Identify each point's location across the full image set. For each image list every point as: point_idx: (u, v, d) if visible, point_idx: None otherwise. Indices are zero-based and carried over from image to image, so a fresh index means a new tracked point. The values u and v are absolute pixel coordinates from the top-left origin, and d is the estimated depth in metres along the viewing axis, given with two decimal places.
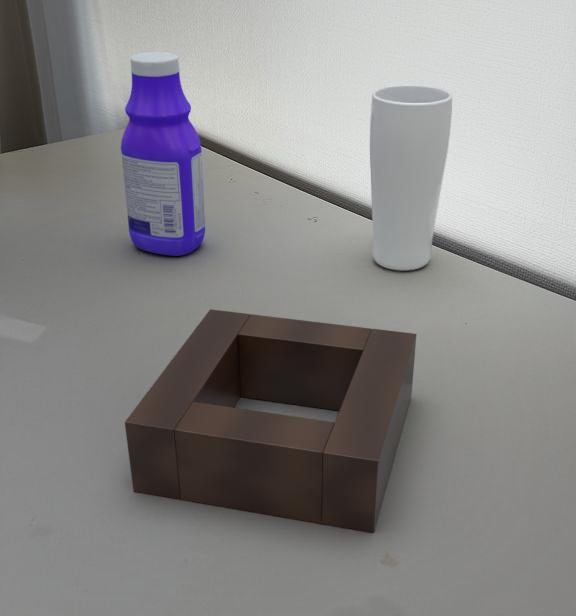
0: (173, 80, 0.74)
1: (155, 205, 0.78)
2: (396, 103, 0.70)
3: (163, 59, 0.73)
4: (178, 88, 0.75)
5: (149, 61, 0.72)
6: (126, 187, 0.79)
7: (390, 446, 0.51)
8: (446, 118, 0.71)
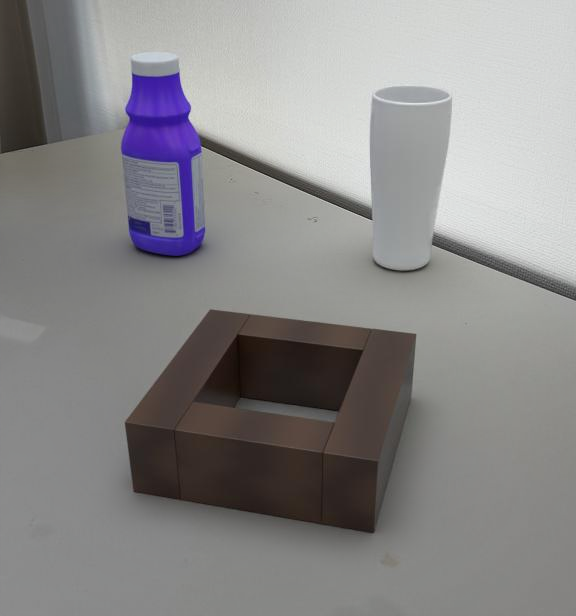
0: (173, 80, 0.74)
1: (155, 205, 0.78)
2: (396, 103, 0.70)
3: (163, 59, 0.73)
4: (178, 88, 0.75)
5: (149, 61, 0.72)
6: (126, 187, 0.79)
7: (390, 446, 0.51)
8: (446, 118, 0.71)
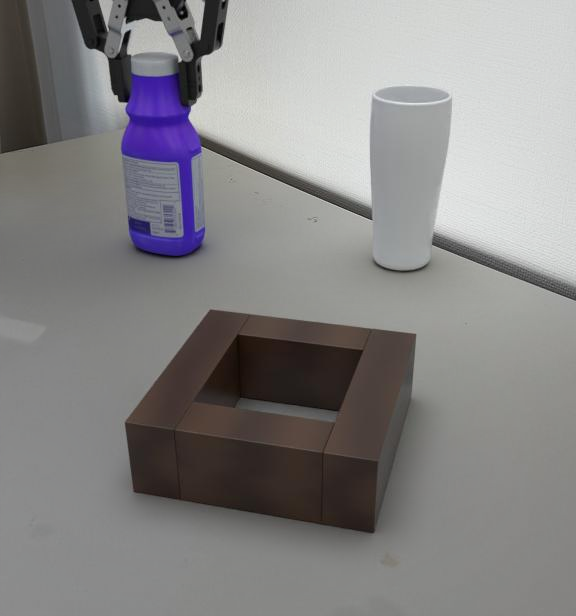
0: (173, 80, 0.74)
1: (155, 205, 0.78)
2: (396, 103, 0.70)
3: (163, 59, 0.73)
4: (178, 88, 0.75)
5: (149, 61, 0.72)
6: (126, 187, 0.79)
7: (390, 446, 0.51)
8: (446, 118, 0.71)
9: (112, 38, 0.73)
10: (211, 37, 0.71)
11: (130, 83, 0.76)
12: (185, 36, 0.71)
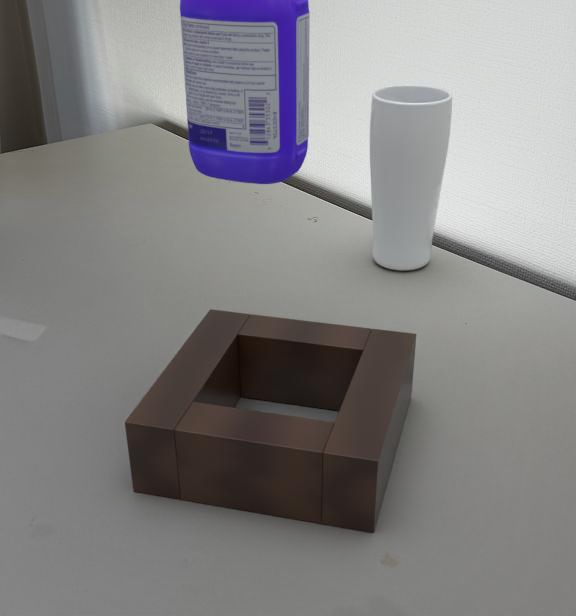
0: None
1: (236, 99, 0.49)
2: (396, 103, 0.70)
3: None
4: None
5: None
6: (187, 73, 0.50)
7: (390, 446, 0.51)
8: (446, 118, 0.71)
9: None
10: None
11: None
12: None
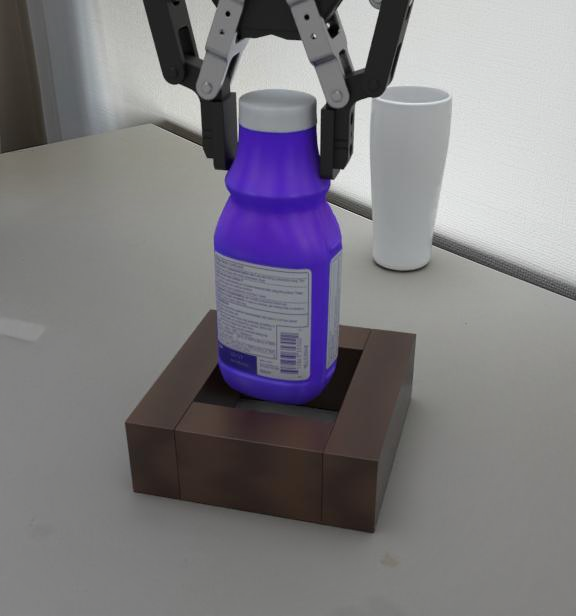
0: (309, 137, 0.45)
1: (268, 332, 0.49)
2: (396, 103, 0.70)
3: (295, 103, 0.44)
4: (315, 150, 0.45)
5: (273, 107, 0.43)
6: (220, 301, 0.50)
7: (390, 446, 0.51)
8: (446, 118, 0.71)
9: (210, 67, 0.44)
10: (384, 68, 0.41)
11: (233, 138, 0.47)
12: (338, 65, 0.42)
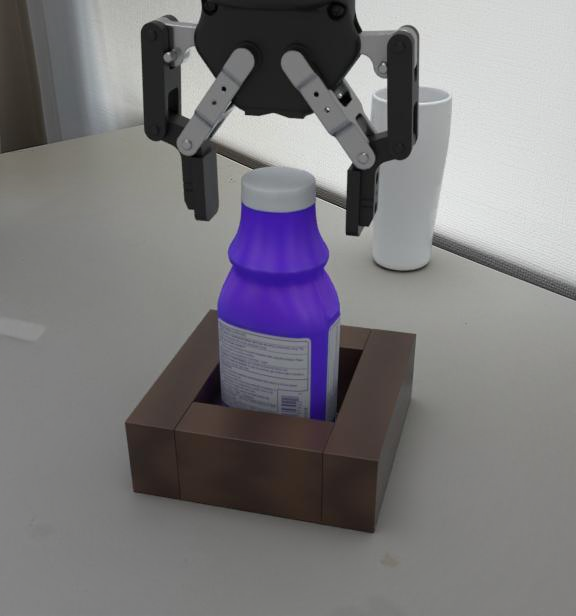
0: (308, 215, 0.47)
1: (269, 395, 0.51)
2: None
3: (295, 185, 0.46)
4: (314, 226, 0.47)
5: (274, 189, 0.45)
6: (223, 364, 0.52)
7: (390, 446, 0.51)
8: (446, 118, 0.71)
9: (195, 127, 0.45)
10: (410, 133, 0.43)
11: (213, 190, 0.49)
12: (357, 129, 0.43)
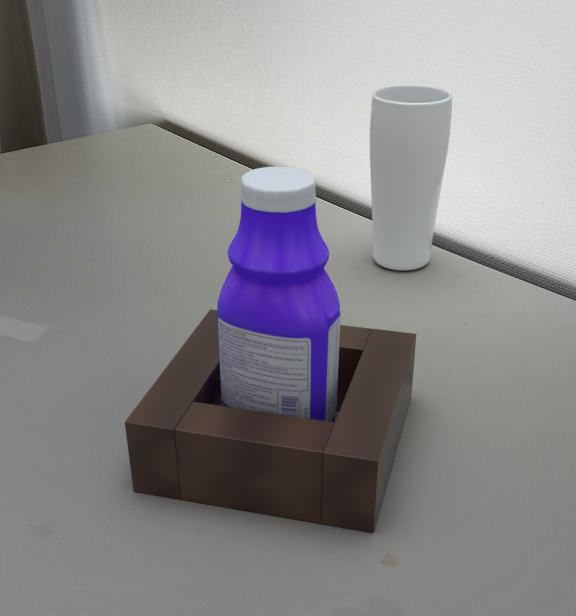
0: (308, 215, 0.47)
1: (269, 395, 0.51)
2: (396, 103, 0.70)
3: (295, 184, 0.46)
4: (314, 226, 0.47)
5: (274, 190, 0.45)
6: (223, 364, 0.52)
7: (390, 446, 0.51)
8: (446, 118, 0.71)
9: None
10: None
11: None
12: None
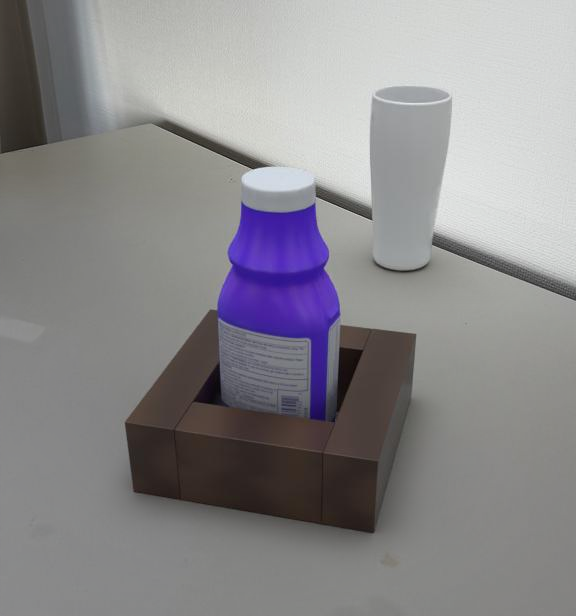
0: (308, 215, 0.47)
1: (269, 395, 0.51)
2: (396, 103, 0.70)
3: (295, 184, 0.46)
4: (314, 226, 0.47)
5: (274, 190, 0.45)
6: (223, 364, 0.52)
7: (390, 446, 0.51)
8: (446, 118, 0.71)
9: None
10: None
11: None
12: None
